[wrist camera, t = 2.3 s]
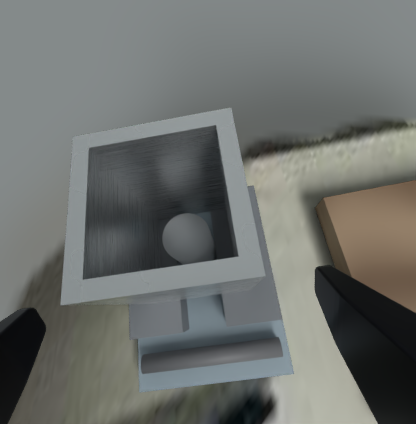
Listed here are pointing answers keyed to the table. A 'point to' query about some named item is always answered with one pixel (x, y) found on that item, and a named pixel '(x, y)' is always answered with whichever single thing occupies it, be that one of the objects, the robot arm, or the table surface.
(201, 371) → the vise
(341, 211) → the walnut board
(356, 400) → the table surface
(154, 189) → the steel sleeve
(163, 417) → the table surface
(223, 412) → the table surface
